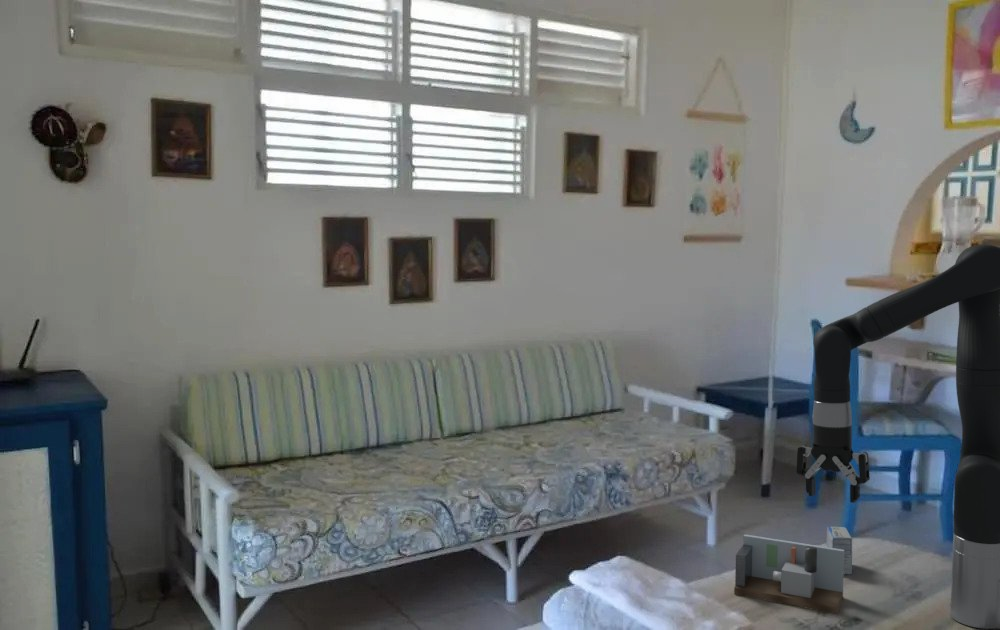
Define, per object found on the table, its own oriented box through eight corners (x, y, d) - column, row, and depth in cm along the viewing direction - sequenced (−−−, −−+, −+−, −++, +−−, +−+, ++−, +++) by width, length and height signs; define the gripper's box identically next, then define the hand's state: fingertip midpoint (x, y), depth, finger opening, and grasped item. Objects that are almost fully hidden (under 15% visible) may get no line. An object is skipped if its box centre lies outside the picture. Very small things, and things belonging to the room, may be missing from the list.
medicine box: (852, 575, 197) (853, 538, 196) (831, 573, 198) (832, 537, 197) (845, 562, 205) (846, 526, 204) (825, 561, 206) (826, 525, 205)
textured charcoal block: (751, 576, 193) (752, 545, 192) (744, 587, 187) (745, 556, 186) (742, 574, 194) (743, 544, 193) (735, 585, 188) (735, 554, 187)
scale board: (843, 590, 185) (844, 549, 184) (842, 592, 184) (843, 551, 183) (743, 573, 195) (744, 534, 194) (742, 574, 194) (743, 535, 193)
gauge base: (842, 597, 185) (843, 590, 185) (837, 613, 177) (837, 606, 177) (743, 579, 195) (743, 573, 195) (734, 594, 187) (734, 587, 187)
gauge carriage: (818, 588, 186) (819, 544, 185) (814, 598, 180) (815, 552, 180) (776, 581, 190) (777, 537, 189) (771, 591, 185) (772, 546, 184)
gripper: (873, 422, 177) (873, 499, 179) (804, 415, 186) (805, 489, 188) (862, 429, 172) (862, 508, 173) (791, 421, 181) (792, 497, 182)
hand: (832, 498), depth 180 cm, fingers open, 8 cm apart
